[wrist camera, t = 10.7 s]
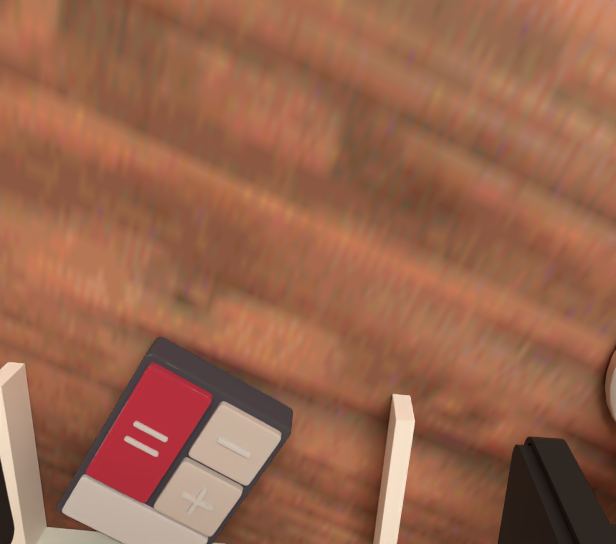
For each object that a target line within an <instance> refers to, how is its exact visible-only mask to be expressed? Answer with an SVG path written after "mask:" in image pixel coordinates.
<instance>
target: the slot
mask: <svg viewBox="0 0 616 544" xmlns="http://www.w3.org/2000/svg"><path fill="white" fill-rule="evenodd" d="M414 424H415V419H414V414H413V409H412V403H411V398H410V395H398V394H393V395H392V403H391V410H390V418H389V426H388V434H387V441H386V449H385V457H384V464H383V472H382V480H381V487H380V495H379V503H378V510H377V518H376V526H375V533H374V541H373V544H397V538H398V531H399V525H400V518H401V511H402V505H403V498H404V491H405V485H406V478H407V471H408V464H409V458H410V451H411V444H412V438H413V431H414ZM0 459H1V464H2V468H3V473H4V478H5V483H6V488H7V492H8V497H9V502H10V507H11V512H12V517H13V521H14V528H15V530H14V536H13V540H12V543H11V544H122V543H120V542H118V541H116V540H114V539H112V538H110V537H108V536H106V535H104V534H102V533H100V532H95V531H84V530H73V529H62V528H51V527H47V524H46V517H45V509H44V502H43V495H42V487H41V480H40V472H39V465H38V458H37V450H36V443H35V436H34V428H33V421H32V413H31V406H30V399H29V391H28V384H27V376H26V369H25V364H24V363H12V362H8V363H7V364H6V365H5V366H3V367H2V368H1V369H0ZM212 544H224V543H212Z"/></svg>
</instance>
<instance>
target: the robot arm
mask: <svg viewBox="0 0 616 544" xmlns="http://www.w3.org/2000/svg"><path fill="white" fill-rule="evenodd" d="M605 394H606V402H607V405H608V408H609V411H610V413H611V416H612V418H613V419H614V421H615V422H616V350H615V352H614V354H613V355H612V358H611V361H610V364H609V367H608V370H607V373H606V382H605ZM14 530H15V528H14V521H13V517H12V512H11V507H10V502H9V497H8V492H7V488H6V483H5V478H4V473H3V468H2V464H1V459H0V544H11V543H12V540H13V536H14ZM498 544H616V525H614V524H610V523H609V521H608V519H607V517H606V516H605V514H604V512H603V510H602V508H601V506H600V504H599V503H598V501H597V499H596V497H595V495H594V493H593V491H592V490H591V488H590V486H589V484H588V482H587V480H586V478H585V477H584V475H583V473H582V471H581V469H580V467H579V465H578V463H577V462H576V460H575V458H574V456H573V454H572V452H571V450H570V449H569V447H568V445H567V443H566V442H565V441H564V440H563V439H558V438H542V437H528V438H527V439H526V440H525V443H524V445H515V447H514V449H513V454H512V460H511V466H510V472H509V478H508V484H507V490H506V496H505V503H504V509H503V515H502V521H501V527H500V533H499V539H498Z"/></svg>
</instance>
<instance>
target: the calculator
mask: <svg viewBox="0 0 616 544" xmlns="http://www.w3.org/2000/svg"><path fill="white" fill-rule="evenodd" d="M292 416H293V411H292V409H291V408H289V407H288V406H286V405H284V404H282V403H280V402H279V401H277V400H275V399H273V398H271V397H270V396H268V395H266V394H264V393H262V392H261V391H259V390H257V389H255V388H253V387H252V386H250V385H248V384H246V383H245V382H243V381H241V380H239V379H237V378H236V377H234V376H232V375H230V374H228V373H227V372H225V371H223V370H221V369H219V368H218V367H216V366H214V365H212V364H210V363H209V362H207V361H205V360H203V359H202V358H200V357H198V356H196V355H194V354H193V353H191V352H189V351H187V350H185V349H184V348H182V347H180V346H178V345H176V344H175V343H173V342H171V341H169V340H167V339H166V338H163V337H159V338H157V339H156V340H155V341H154V343H153V344H152V346H151V347H150V349H149V350H148V352H147V353H146V355H145V357H144V358H143V360H142V362H141V363H140V365H139V367H138V369H137V370H136V372H135V374H134V375H133V377H132V379H131V380H130V382H129V384H128V386H127V387H126V389H125V391H124V392H123V394H122V396H121V397H120V399H119V401H118V403H117V404H116V406H115V408H114V409H113V411H112V413H111V414H110V416H109V418H108V419H107V421H106V423H105V425H104V426H103V428H102V430H101V431H100V433H99V435H98V436H97V438H96V440H95V442H94V443H93V445H92V447H91V448H90V450H89V452H88V453H87V455H86V457H85V459H84V460H83V462H82V464H81V465H80V467H79V469H78V470H77V472H76V474H75V476H74V477H73V479H72V481H71V482H70V484H69V486H68V487H67V489H66V491H65V492H64V494H63V496H62V498H61V499H60V501H59V503H58V505H57V510H58V511H59V512H60V513H62V514H64V515H66V516H68V517H70V518H72V519H74V520H76V521H78V522H80V523H82V524H84V525H86V526H88V527H90V528H92V529H94V530H96V531H98V532H100V533H102V534H104V535H106V536H108V537H110V538H112V539H114V540H116V541H118V542H120V543H122V544H212V543H213V541H214V540H215V539H216V537H217V536H218V534H219V533H220V532H221V530H222V529H223V528H224V526H225V525H226V523H227V522H228V521H229V519H230V518H231V516H232V515H233V514H234V512H235V511H236V509H237V508H238V507H239V505H240V504H241V503H242V501H243V500H244V498H245V497H246V496H247V494H248V493H249V491H250V490H251V489H252V487H253V486H254V484H255V483H256V482H257V480H258V479H259V477H260V476H261V475H262V473H263V472H264V471H265V469H266V468H267V466H268V465H269V464H270V462H271V461H272V459H273V458H274V457H275V455H276V454H277V452H278V451H279V450H280V448H281V447H282V446H283V444H284V443H285V441H286V440H287V439H288V437H289V436H290V434H291V426H292Z"/></svg>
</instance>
